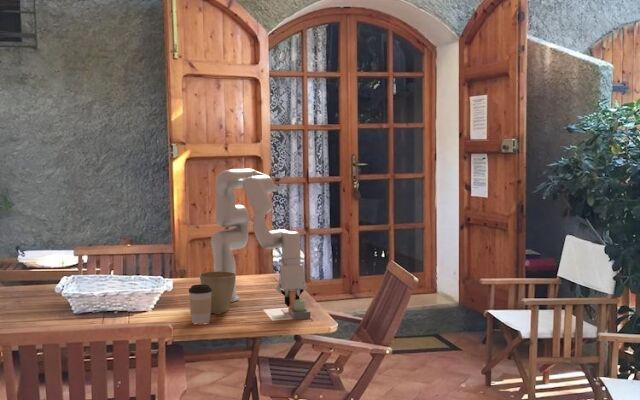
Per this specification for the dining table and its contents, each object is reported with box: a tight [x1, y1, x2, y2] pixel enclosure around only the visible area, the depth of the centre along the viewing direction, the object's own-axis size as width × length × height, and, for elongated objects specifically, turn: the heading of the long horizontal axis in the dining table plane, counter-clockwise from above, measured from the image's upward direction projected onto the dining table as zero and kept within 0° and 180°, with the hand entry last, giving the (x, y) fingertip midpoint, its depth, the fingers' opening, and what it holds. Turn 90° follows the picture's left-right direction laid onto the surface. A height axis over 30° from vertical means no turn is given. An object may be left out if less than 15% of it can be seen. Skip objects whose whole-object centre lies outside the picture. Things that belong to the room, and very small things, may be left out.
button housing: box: [289, 307, 312, 320], centre depth 299 cm, size 7×7×2 cm
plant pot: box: [199, 271, 237, 315], centre depth 310 cm, size 15×15×16 cm
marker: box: [287, 289, 296, 311], centre depth 307 cm, size 3×3×11 cm
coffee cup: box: [188, 283, 212, 325], centre depth 293 cm, size 9×9×15 cm
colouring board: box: [263, 307, 313, 322], centre depth 304 cm, size 16×20×1 cm
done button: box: [294, 298, 306, 312], centre depth 299 cm, size 4×4×5 cm
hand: (292, 305), depth 308 cm, fingers closed on marker, 3 cm apart
